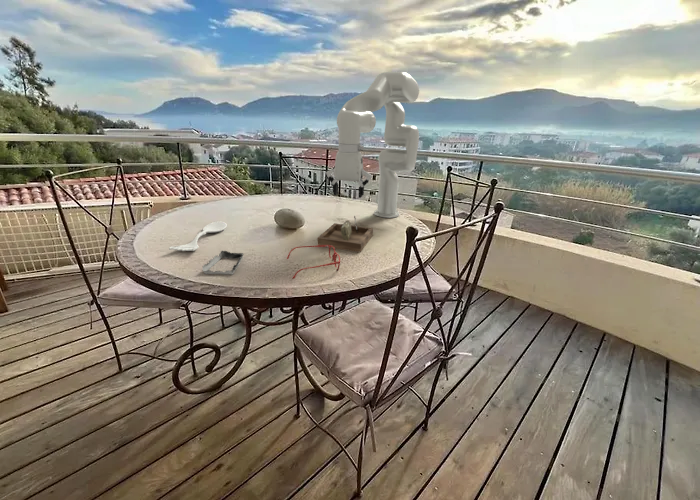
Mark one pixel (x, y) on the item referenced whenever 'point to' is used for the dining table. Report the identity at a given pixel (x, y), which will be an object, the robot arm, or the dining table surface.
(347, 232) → the cuneiform tablet
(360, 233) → the wooden tray
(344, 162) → the robot arm
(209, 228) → the spoon
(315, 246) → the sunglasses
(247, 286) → the dining table surface
